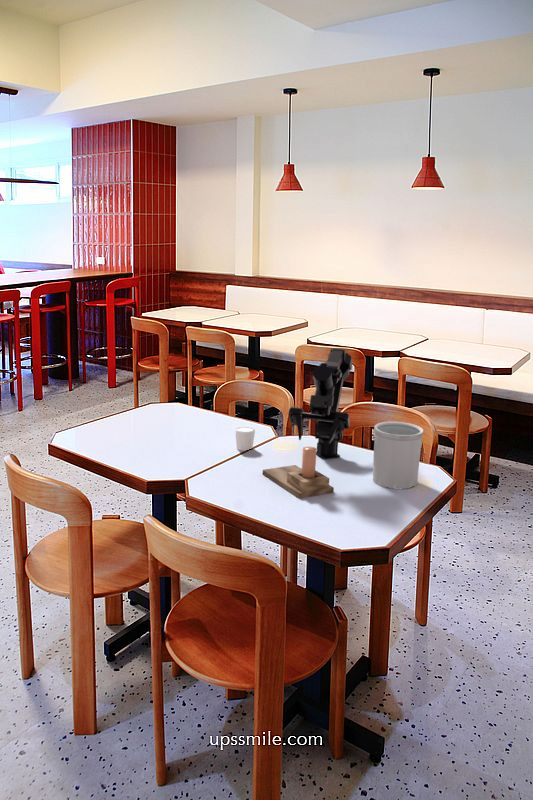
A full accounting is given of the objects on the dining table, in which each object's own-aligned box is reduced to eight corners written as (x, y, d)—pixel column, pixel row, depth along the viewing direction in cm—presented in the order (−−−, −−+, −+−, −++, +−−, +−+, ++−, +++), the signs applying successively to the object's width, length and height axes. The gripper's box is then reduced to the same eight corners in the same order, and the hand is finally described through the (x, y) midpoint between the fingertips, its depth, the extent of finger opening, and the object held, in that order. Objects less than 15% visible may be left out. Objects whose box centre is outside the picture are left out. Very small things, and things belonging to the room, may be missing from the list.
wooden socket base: (295, 469, 220) (295, 456, 219) (333, 492, 201) (334, 478, 200) (262, 474, 214) (263, 460, 213) (299, 498, 196) (299, 483, 195)
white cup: (231, 449, 238) (232, 430, 236) (239, 444, 244) (240, 425, 242) (249, 452, 235) (250, 433, 234) (257, 447, 241) (258, 428, 240)
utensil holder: (403, 494, 202) (408, 437, 198) (361, 481, 212) (365, 427, 207) (427, 482, 213) (432, 428, 209) (385, 470, 223) (390, 418, 218)
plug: (309, 480, 205) (311, 446, 202) (317, 485, 202) (319, 449, 199) (298, 482, 203) (300, 447, 200) (305, 487, 200) (307, 451, 197)
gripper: (291, 381, 211) (280, 424, 203) (351, 387, 206) (342, 431, 198) (295, 401, 220) (286, 442, 212) (353, 406, 215) (345, 449, 208)
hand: (314, 441), depth 207 cm, fingers open, 9 cm apart
